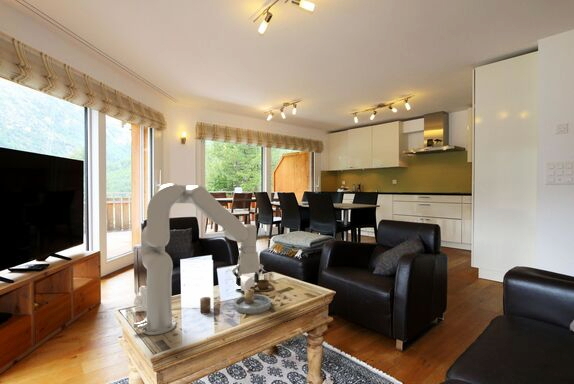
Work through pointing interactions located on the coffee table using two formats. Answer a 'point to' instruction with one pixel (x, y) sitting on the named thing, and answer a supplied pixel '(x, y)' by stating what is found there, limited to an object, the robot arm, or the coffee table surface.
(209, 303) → the walnut bead
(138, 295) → the koala figurine
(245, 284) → the mug
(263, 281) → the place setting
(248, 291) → the oak bead
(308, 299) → the coffee table surface
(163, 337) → the coffee table surface
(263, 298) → the dish
